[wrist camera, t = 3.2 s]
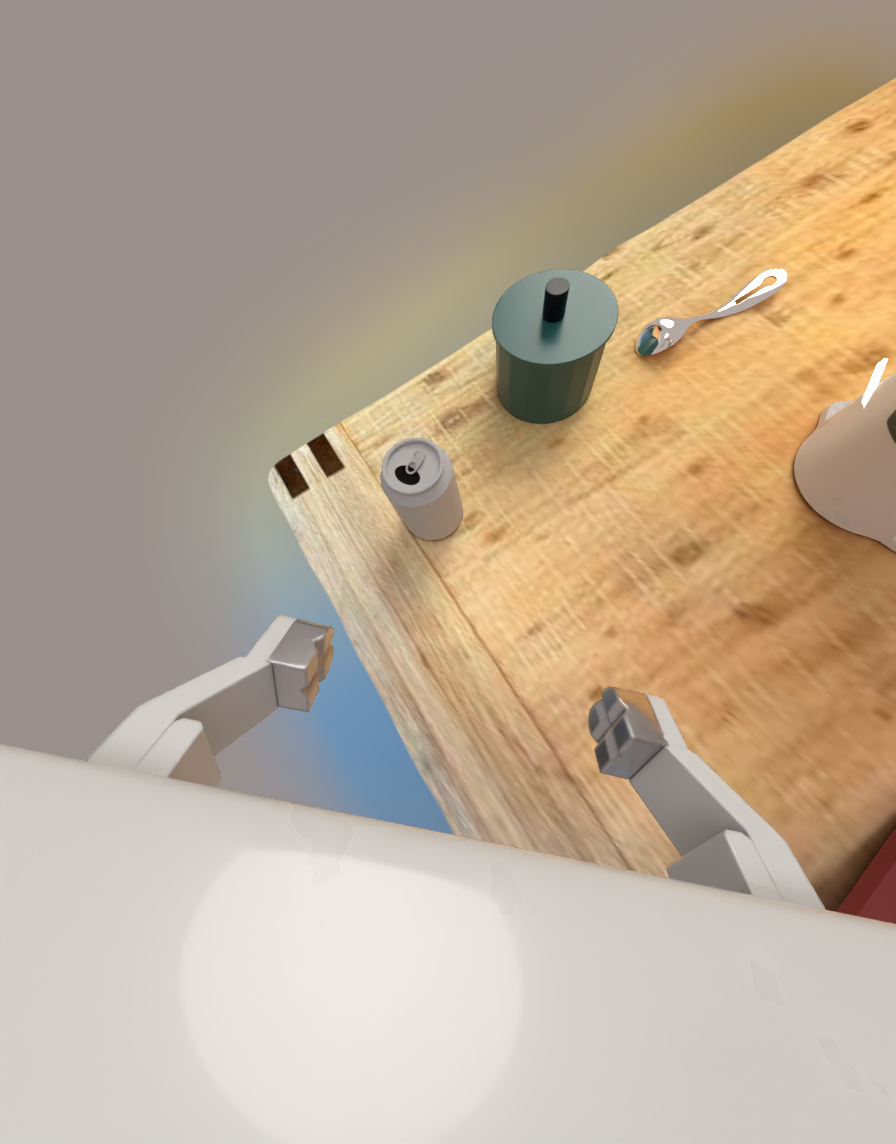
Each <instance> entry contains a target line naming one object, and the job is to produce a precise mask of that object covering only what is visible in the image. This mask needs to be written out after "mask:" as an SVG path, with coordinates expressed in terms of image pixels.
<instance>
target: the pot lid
mask: <svg viewBox="0 0 896 1144" xmlns="http://www.w3.org/2000/svg"><path fill="white" fill-rule="evenodd" d="M617 320H618V304H617V300H616V298H615V295H614V294H613V292H612V291H611V289H610V288H609V287H608V286H607V285H606V284H605V283H604V282H603V281H601V280H600V279H598V278H597V277H595V276H593V275H590V274H588V273H585V272H582V271H576V270H570V269H554V270H547V271H542V272H538V273H535V274H533V275H530V276H527V277H525V278H523V279H522V280H520V281H518V282H517V283H515V284H514V285H513V286H511V287H510V288H509V289H508V290H507V291H506V292H505V293H504V294H503V295H502V296H501V298H500V299H499V301H498V303H497V304H496V307H495V309H494V312H493V317H492V330H493V335H494V338H495V340H496V342H497V344H498V345H499V347H500V348H501V349H502V350H503V351H504V352H505V353H506V354H507V355H508V356H510V357H511V358H513V359H514V360H516V361H518V362H521V363H523V364H526V365H530V366H534V367H543V368H553V367H562V366H567V365H571V364H574V363H577V362H580V361H582V360H584V359H586V358H588V357H590V356H591V355H593V354H594V353H596V352H597V351H598V350H599V349H601V348H602V347H603V346H604V345H605V344H606V342H607V341H608V340H609V338H610V337H611V336H612V334H613V332H614V329H615V326H616V323H617Z"/></svg>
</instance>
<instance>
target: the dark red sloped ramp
mask: <svg viewBox="0 0 896 1144" xmlns="http://www.w3.org/2000/svg"><path fill="white" fill-rule="evenodd" d="M836 912H839V913H844V914H849V915H854V916H859V917H864V918H869V919H874V920H879V921H884V922H889V923H894V924H896V828H895V830H894V831H893V832H892V834H891V835H890V837H889V838H888V839H887V841H886V842H885V844H884V845H883V846H882V848H881V849H880V851H879V852H878V853H877V855H876V856H875V858H874V859H873V861H872V862H871V863H870V865H869V866H868V868H867V869H866V870H865V872H864V873H863V875H862V876H861V877H860V879H859V880H858V882H857V883H856V884H855V886H854V887H853V889H852V890H851V891H850V893H849V894H848V896H847V897H846V898H845V900H844V901H843V903H842V904H841V905H840V907H839V908H838V910H837V911H836Z"/></svg>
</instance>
